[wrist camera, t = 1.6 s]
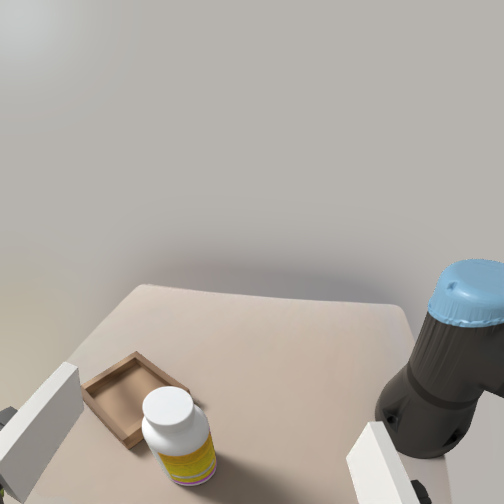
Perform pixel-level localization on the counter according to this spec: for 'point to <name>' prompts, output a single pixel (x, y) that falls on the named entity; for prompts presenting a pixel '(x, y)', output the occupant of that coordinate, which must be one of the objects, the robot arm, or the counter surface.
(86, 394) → the walnut tray
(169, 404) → the supplement bottle
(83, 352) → the counter surface
